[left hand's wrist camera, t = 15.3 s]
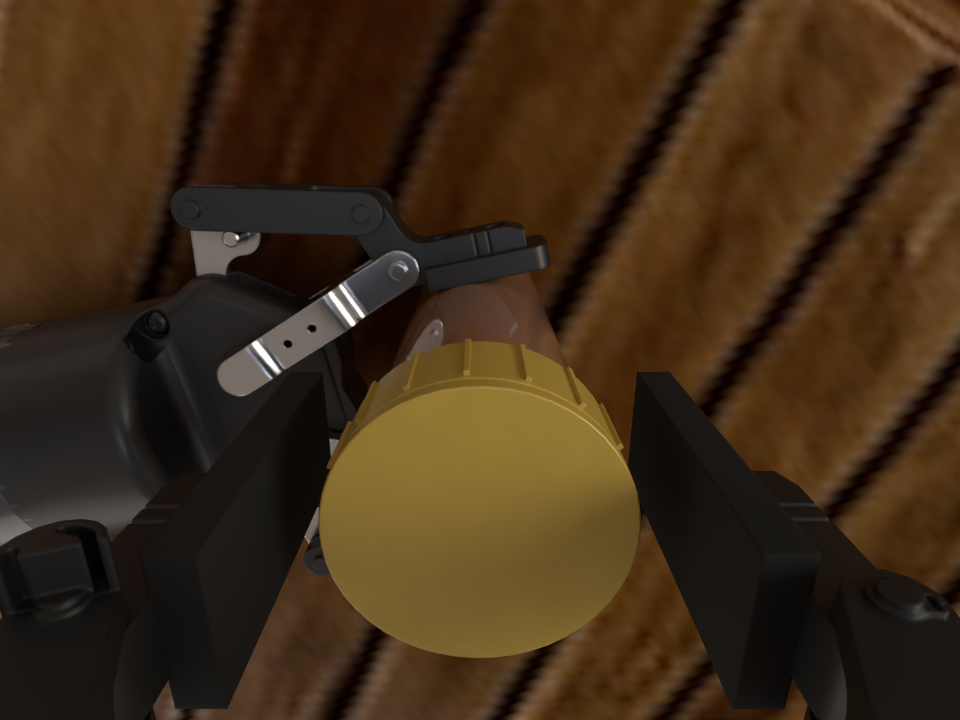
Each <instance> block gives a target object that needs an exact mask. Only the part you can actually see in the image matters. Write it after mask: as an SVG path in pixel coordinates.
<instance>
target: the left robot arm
mask: <svg viewBox="0 0 960 720" xmlns="http://www.w3.org/2000/svg"><path fill="white" fill-rule="evenodd" d="M330 458H331V450H330V440H329V430H328V420H327V410H326V399H325V389H324V379H323V372H290V373H289V374H288V376H287V377H286V378H285V379H284V380H283V382H282V383H281V384H280V385H279V386H278V388H277V389H276V390H275V391H274V392H273V394H272V395H271V396H270V397H269V398H268V400H267V401H266V402H265V403H264V404H263V406H262V407H261V408H260V409H259V410H258V412H257V413H256V414H255V415H254V416H253V418H252V419H251V420H250V421H249V422H248V424H247V425H246V426H245V427H244V428H243V430H242V431H241V432H240V433H239V434H238V436H237V437H236V438H235V439H234V440H233V442H232V443H231V444H230V445H229V446H228V448H227V449H226V450H225V451H224V452H223V454H222V455H221V456H220V457H219V458H218V460H217V461H216V462H215V463H214V464H213V466H212V467H211V468H210V469H209V470H208V472H207V473H186V474H184V475H182V476H181V477H179V478H177V479H176V480H174V481H172V482H171V483H169V484H167V485H166V486H164V487H162V488H161V489H160V490H159V491H158V492H157V493H156V495H155V496H154V497H153V498H152V499H151V500H150V501H149V502H148V503H147V504H146V505H145V509H142V510H141V511H140V512H139V513H138V514H137V515H136V516H135V517H134V518H133V519H132V523H131V524H128V525H127V526H126V527H125V528H124V529H123V530H122V531H121V532H120V533H119V534H118V535H117V537H116V538H115V539H114V540H113V541H112V542H111V543H110V539H109V535H108V531H107V528H106V527H105V526H104V525H102V524H101V523H99V522H98V521H93V520H86V519H74V520H64V521H58V522H54V523H51V524H47V525H43V526H40V527H37V528H34V529H32V530H30V531H27V532H25V533H23V534H21V535H18V536H16V537H14V538H12V539H11V540H9V541H8V542H6V543H5V544H3V545H2V546H0V611H1V614H2V618H1V620H0V720H156V717H155V713H154V709H153V705H154V703H155V702H156V700H157V698H158V697H159V695H160V693H161V691H162V690H163V688H164V686H165V684H166V683H167V681H168V680H169V684H170V688H171V692H172V697H173V701H174V705H175V709H227V708H228V706H229V704H230V702H231V699H232V697H233V695H234V693H235V690H236V688H237V686H238V684H239V681H240V679H241V677H242V675H243V673H244V670H245V668H246V666H247V664H248V661H249V659H250V657H251V655H252V652H253V650H254V648H255V646H256V644H257V641H258V639H259V637H260V635H261V632H262V630H263V628H264V626H265V623H266V621H267V619H268V617H269V615H270V612H271V610H272V608H273V606H274V603H275V601H276V599H277V597H278V594H279V592H280V590H281V588H282V586H283V583H284V581H285V579H286V577H287V574H288V572H289V570H290V568H291V565H292V563H293V561H294V559H295V557H296V554H297V552H298V550H299V548H300V545H301V543H302V541H303V539H304V536H305V534H306V532H307V530H308V528H309V525H310V523H311V521H312V519H313V516H314V514H315V512H316V510H317V507H318V505H319V503H320V499H321V494H322V490H323V487H324V484H325V481H326V478H327V476H328V473H329V471H330V469H327V465H328V463H329V460H330ZM628 469H629V471H630V474H631V476H632V479H633V481H634V483H635V486H636V489H637V491H638V499H639V501H640V503H641V505H642V507H643V510H644V512H645V514H646V516H647V519H648V521H649V523H650V525H651V528H652V530H653V532H654V534H655V536H656V539H657V541H658V543H659V545H660V548H661V550H662V552H663V554H664V557H665V559H666V561H667V563H668V565H669V568H670V570H671V572H672V574H673V577H674V579H675V581H676V583H677V586H678V588H679V590H680V592H681V594H682V597H683V599H684V601H685V603H686V606H687V608H688V610H689V612H690V615H691V617H692V619H693V621H694V623H695V626H696V628H697V630H698V632H699V635H700V637H701V639H702V641H703V644H704V646H705V648H706V650H707V653H708V655H709V657H710V659H711V661H712V664H713V666H714V668H715V670H716V673H717V675H718V677H719V679H720V682H721V684H722V686H723V688H724V690H725V693H726V695H727V697H728V699H729V702H730V704H731V706H732V708H733V709H785V705H786V701H787V697H788V692H789V688H790V684H791V680H792V678H793V680H794V681H795V683H796V685H797V687H798V688H799V690H800V692H801V693H802V695H803V697H804V699H805V700H806V702H807V704H808V705H807V709H806V713H805V717H804V720H960V618H959V617H958V615H957V614H956V612H955V611H954V610H953V608H952V607H951V606H950V605H949V603H948V602H947V601H946V600H945V599H944V598H942V597H941V596H940V595H938V594H937V593H936V592H934V591H933V590H932V589H930V588H929V587H927V586H925V585H923V584H921V583H919V582H917V581H915V580H913V579H911V578H909V577H907V576H904V575H901V574H897V573H894V572H891V571H888V570H883V569H876V568H875V567H874V566H873V565H872V564H871V563H870V562H869V561H868V559H867V558H866V557H865V556H864V555H863V554H862V553H861V552H860V551H859V550H858V549H857V548H856V547H855V546H854V544H853V543H852V542H851V541H850V540H849V539H848V538H847V537H846V536H845V535H844V534H843V533H842V532H841V531H840V530H839V528H838V527H837V526H836V525H835V524H834V523H833V522H829V518H828V517H827V516H826V515H825V513H824V512H823V511H822V510H821V509H820V508H819V507H815V503H814V502H813V501H812V500H811V498H810V497H809V496H808V495H807V494H806V493H805V492H804V491H803V490H802V489H801V488H800V487H799V486H798V485H796V484H795V483H793V482H791V481H790V480H788V479H786V478H785V477H783V476H781V475H780V474H778V473H776V472H775V471H752V470H751V469H750V468H749V467H748V466H747V464H746V463H745V462H744V461H743V460H742V458H741V457H740V456H739V455H738V454H737V452H736V451H735V450H734V449H733V448H732V446H731V445H730V444H729V443H728V442H727V440H726V439H725V438H724V437H723V436H722V434H721V433H720V432H719V431H718V430H717V428H716V427H715V426H714V425H713V424H712V422H711V421H710V420H709V419H708V418H707V416H706V415H705V414H704V413H703V412H702V410H701V409H700V408H699V407H698V406H697V404H696V403H695V402H694V401H693V400H692V398H691V397H690V396H689V395H688V394H687V392H686V391H685V390H684V389H683V388H682V386H681V385H680V384H679V383H678V382H677V380H676V379H675V378H674V377H673V376H672V374H671V373H670V372H637V379H636V389H635V399H634V410H633V420H632V430H631V440H630V450H629V461H628Z"/></svg>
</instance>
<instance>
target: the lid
mask: <svg viewBox="0 0 960 720" xmlns="http://www.w3.org/2000/svg"><path fill="white" fill-rule="evenodd" d="M623 448H624V447H623V445H622V443H621V441H620V439H619V437H618V435H617V433H616V431H615V428H614V426H613V424H612V422H611V420H610V418H609V416H608V414H607V412H606V410H605V407H604V406H603V404H602V403H601V404H599V405H598V404H597V402H596V400H595V399H594V397H593V396H592V395H591V393H590V392H589V391H588V390H587V388H586V387H585V386H584V385H583V384H582V383H581V382H580V381H579V380H578V379H577V378H576V377H575V375H574V373H573V371H572V369H571V368H570V367H567V368H566V369H565V368H564V367H562V366H561V365H559V364H558V363H556V362H555V361H553V360H551V359H549V358H547V357H545V356H543V355H541V354H539V353H537V352H534V351H531V350H528V349H526V346H525V345H523V344H520V345H519V346H515V345H510V344H506V343H498V342H488V341H473V342H471V339H465V342H461V343H454V344H448V345H444V346H440V347H437V348H433V349H430V350H427V351H425V352H423V353H420V354H419V352H418V351H417V352H415V353H413V355H412V358H410V359H408V360H406V361H405V362H403V363H401V364H400V365H398V366H397V367H395V368H394V369H393V370H391V371H390V372H389V373H388V374H386V375H385V376H384V377H383V378H382V379H381V380H380V381H379V382H376V381H374V382H373V383H372V384H371V386H370V388H369V391H368V393H367V395H366V397H365V399H364V400H363V402H362V403H361V405H360V407H359V409H358V411H357V413H356V415H355V417H354V419H353V421H352V422H351V421H348V423H347V425H346V427H345V429H344V431H343V433H342V435H341V437H340V439H339V442H338V444H337V446H336V448H335V450H334V452H333V454H332V456H331V458H330V460H329V463H328V465H327V469H330V471H329V473H328V476H327V478H326V481H325V484H324V487H323V490H322V494H321V499H320V505H319V515H318V530H319V537H320V544H321V549H322V552H323V555H324V559H325V562H326V565H327V567H328V569H329V571H330V573H331V575H332V578H333V580H334V581H335V583H336V584H337V586H338V587H339V589H340V591H341V592H342V594H343V595H344V596H345V597H346V599H347V600H348V601H349V602H350V603H351V604H352V606H353V607H354V608H355V609H356V610H357V611H358V612H359V613H361V614H362V615H363V616H364V617H365V618H366V619H367V620H368V621H370V622H371V623H372V624H374V625H375V626H377V627H378V628H380V629H381V630H382V631H384V632H386V633H387V634H389V635H391V636H393V637H395V638H397V639H398V640H400V641H403V642H405V643H408V644H410V645H413V646H415V647H417V648H421V649H424V650H428V651H431V652H434V653H439V654H444V655H450V656H456V657H469V658H493V657H501V656H510V655H515V654H520V653H524V652H528V651H532V650H535V649H538V648H541V647H544V646H547V645H549V644H552V643H554V642H556V641H558V640H560V639H562V638H565V637H566V636H568V635H570V634H571V633H573V632H575V631H576V630H578V629H580V628H581V627H583V626H584V625H585V624H587V623H588V622H589V621H590V620H592V619H593V618H594V617H595V616H597V615H598V614H599V613H600V612H601V611H602V610H603V609H604V608H605V607H606V606H607V605H608V604H609V602H610V601H611V600H612V599H613V597H614V596H615V595H616V593H617V592H618V591H619V590H620V588H621V586H622V585H623V583H624V581H625V579H626V578H627V576H628V574H629V572H630V569H631V567H632V564H633V562H634V559H635V556H636V552H637V548H638V544H639V540H640V528H641V515H640V503H639V499H638V491H637V489H636V486H635V483H634V481H633V479H632V476H631V474H630V471H629V469H628V467H627V464H626V462H625V460H624V458H623V456H622V454H621V451H620V450H621V449H623Z"/></svg>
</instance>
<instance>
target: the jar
mask: <svg viewBox="0 0 960 720" xmlns="http://www.w3.org/2000/svg"><path fill="white" fill-rule="evenodd" d="M465 339H471V342H473V341H488V342H498V343H506V344H510V345H515V346H519V345H520V344H523V345H525V346H526V349H528V350H531V351H534V352H537V353H539V354H541V355H543V356H545V357H547V358H549V359H551V360H553V361H555V362H556V363H558V364H559V365H561V366H562V367H564V368H565V369H566V368H567V367H568V366H567V364H566V361H565V359H564V356H563V354H562V351H561V349H560V346H559V344H558V341H557V339H556V336H555V333H554V331H553V328H552V326H551V323H550V321H549V318H548V316H547V313H546V311H545V308H544V306H543V303H542V301H541V298H540V296H539V293H538V291H537V288H536V286H535V283H534V281H533V278H532V276H531V274H530V272H527V273H522V274H517V275H512V276H508V277H503V278H498V279H493V280H488V281H484V282H479V283H474V284H469V285H462V286H458V287H454V288H450V289H445V290H440V291H436V292H431V293H429V289H428V285H427V284H426V285H424V286H423V289H422V291H421V294H420V296H419V299H418V301H417V304H416V306H415V309H414V311H413V314H412V316H411V319H410V321H409V324H408V326H407V329H406V331H405V334H404V336H403V339H402V342H401V344H400V347H399V349H398V352H397V354H396V357H395V359H394V362H393V364H392V367H391V369H390V371H391V370H393V369H394V368H395V367H397V366H398V365H400V364H401V363H403V362H405V361H406V360H408V359H410V358H412V355H413V353H415V352H417V351H418V352H419V354H420V353H423V352H425V351H427V350H430V349H433V348H437V347H440V346H444V345H448V344H454V343H461V342H465Z"/></svg>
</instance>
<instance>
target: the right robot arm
mask: <svg viewBox="0 0 960 720" xmlns="http://www.w3.org/2000/svg"><path fill="white" fill-rule="evenodd" d="M170 208H171V213H172V215H173V217H174V219H175V220H176V222H177V223H178V224H179V225H180V226H182V227H183V228H185V229H187V230H190V231H191V238H192V245H193V252H194V260H195V267H196V274H197V277H195V278H193V279H191V280H190V281H188V282H187V283H186V284H185V285H184V286H183V287H182V288H181V289H180V290H179V291H178V292H177V293H176V294H173V295H169V296H165V297H160V298H155V299H151V300H146V301H141V302H137V303H132V304H127V305H123V306H118V307H113V308H108V309H104V310H99V311H94V312H90V313H85V314H80V315H76V316H71V317H66V318H62V319H57V320H52V321H48V322H43V323H42V322H31V323H23V324H17V325H12V326H8V327H6V329H3V330H1V332H0V546H2V545H3V544H5V543H6V542H8V541H9V540H11V539H12V538H14V537H16V536H18V535H21V534H23V533H25V532H27V531H30V530H32V529H34V528H37V527H40V526H43V525H47V524H51V523H54V522H58V521H64V520H74V519H86V520H93V521H98V522H99V523H101V524H102V525H104V526H105V527H106V528H107V531H108V535H109V536H113V535H118V534H119V533H120V532H121V531H122V530H123V529H124V528H125V527H126V526H127V525H128V524H131V523H132V519H133V518H134V517H135V516H136V515H137V514H138V513H139V512H140V511H141V510H142V509H145V505H146V504H147V503H148V502H149V501H150V500H151V499H152V498H153V497H154V496H155V495H156V493H157V492H158V491H159V490H160V489H161V488H162V487H164V486H166V485H167V484H169V483H171V482H172V481H174V480H176V479H177V478H179V477H181V476H182V475H184V474H186V473H207V472H208V470H209V469H210V468H211V467H212V466H213V464H214V463H215V462H216V461H217V460H218V458H219V457H220V456H221V455H222V454H223V452H224V451H225V450H226V449H227V448H228V446H229V445H230V444H231V443H232V442H233V440H234V439H235V438H236V437H237V436H238V434H239V433H240V432H241V431H242V430H243V428H244V427H245V426H246V425H247V424H248V422H249V421H250V420H251V419H252V418H253V416H254V415H255V414H256V413H257V412H258V410H259V409H260V408H261V407H262V406H263V404H264V403H265V402H266V401H267V400H268V398H269V397H270V396H271V395H272V394H273V392H274V391H275V390H276V389H277V388H278V386H279V385H280V384H281V383H282V382H283V380H284V379H285V378H286V377H287V376H288V374H289V373H290V372H323V379H324V389H325V399H326V410H327V420H328V430H329V440H330V450H331V456H332V454H333V452H334V450H335V448H336V446H337V444H338V442H339V439H340V437H341V435H342V433H343V431H344V429H345V427H346V425H347V423H348V421H351V422H352V421H353V419H354V417H355V415H356V413H357V411H358V409H359V407H360V405H361V403H362V402H363V400H364V399H365V397H366V395H367V393H368V387H367V384H366V382H365V381H364V379H363V378H362V376H361V374H360V373H359V371H358V369H357V368H356V366H355V358H354V340H353V337H352V334H351V330H350V328H352V327H353V326H354V325H356V324H357V323H358V322H359V321H360V320H362V319H363V318H364V317H366V316H367V315H369V314H370V313H372V312H373V311H375V310H376V309H378V308H380V307H381V306H383V305H384V304H386V303H387V302H389V301H391V300H392V299H394V298H395V297H397V296H399V295H400V294H402V293H403V292H405V291H406V290H408V289H410V288H412V287H417V286H422V285H426V284H427V285H428V289H429V293H431V292H436V291H440V290H445V289H450V288H454V287H458V286H462V285H469V284H474V283H479V282H484V281H488V280H493V279H498V278H503V277H508V276H512V275H517V274H522V273H527V272H532V271H536V270H540V269H544V268H546V267H548V266H550V265H551V263H550V257H549V251H548V245H547V241H546V240H545V238H544V237H543V236H542V235H533V236H527V237H525V232H524V228H523V226H522V225H521V223H515V222H510V221H500V222H495V223H490V224H487V225H481V226H476V227H472V228H467V229H462V230H458V231H453V232H448V233H444V234H439V235H435V236H420V235H417V234H415V233H414V232H412V231H411V230H410V229H409V228H408V227H407V226H406V225H405V223H404V222H403V220H402V219H401V217H400V216H399V214H398V212H397V211H396V209H395V208H394V202H393V199H392V197H391V195H390V194H389V193H388V192H387V191H386V190H384V189H382V188H380V187H372V186H339V185H306V184H272V183H239V182H219V183H212V184H204V185H197V186H192V187H185V188H181V189H179V190H178V191H176V192H175V193H174V195H173V196H172V199H171V203H170ZM270 233H280V234H314V235H349V236H355V237H356V238H357V239H358V241H359V242H360V244H361V245H362V247H363V248H364V250H365V251H366V253H367V254H368V255H369V257H370V259H369V260H367V261H366V262H364V263H363V264H361V265H360V266H358V267H357V268H354V269H352V270H351V271H349V272H348V273H346V274H345V275H343V276H341V277H340V278H338V279H337V280H335V281H334V282H332V283H331V284H329V285H328V286H326V287H325V288H323V289H322V290H320V291H319V292H317V293H315V294H314V295H312V296H311V297H309V298H305V297H303V296H300V295H298V294H296V293H293V292H291V291H288V290H286V289H284V288H281V287H279V286H276V285H274V284H272V283H269V282H267V281H264V280H262V279H260V278H257V277H255V276H252V275H250V274H248V273H245V272H243V271H240V270H238V262H239V259H240V258H241V256H243V255H248V254H251V253H253V252H255V251H257V250H259V249H261V248H263V247H264V246H266V244H267V243H268V241H269V239H270ZM319 505H320V503H319ZM319 505H318V507H317V510H316V512H315V514H314V516H313V519H312V521H311V523H310V525H309V528H308V530H307V532H306V534H305V536H304V537H305V538H306V540H307V541H308V543H309V545H308V548H307V550H306V552H305V555H304V558H303V562H304V565H305V567H306V568H307V569H308V570H309V571H310V572H312V573H314V574H317V575H327V574H330V571H329V569H328V567H327V565H326V562H325V559H324V555H323V552H322V549H321V544H320V537H319V530H318V515H319Z"/></svg>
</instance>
